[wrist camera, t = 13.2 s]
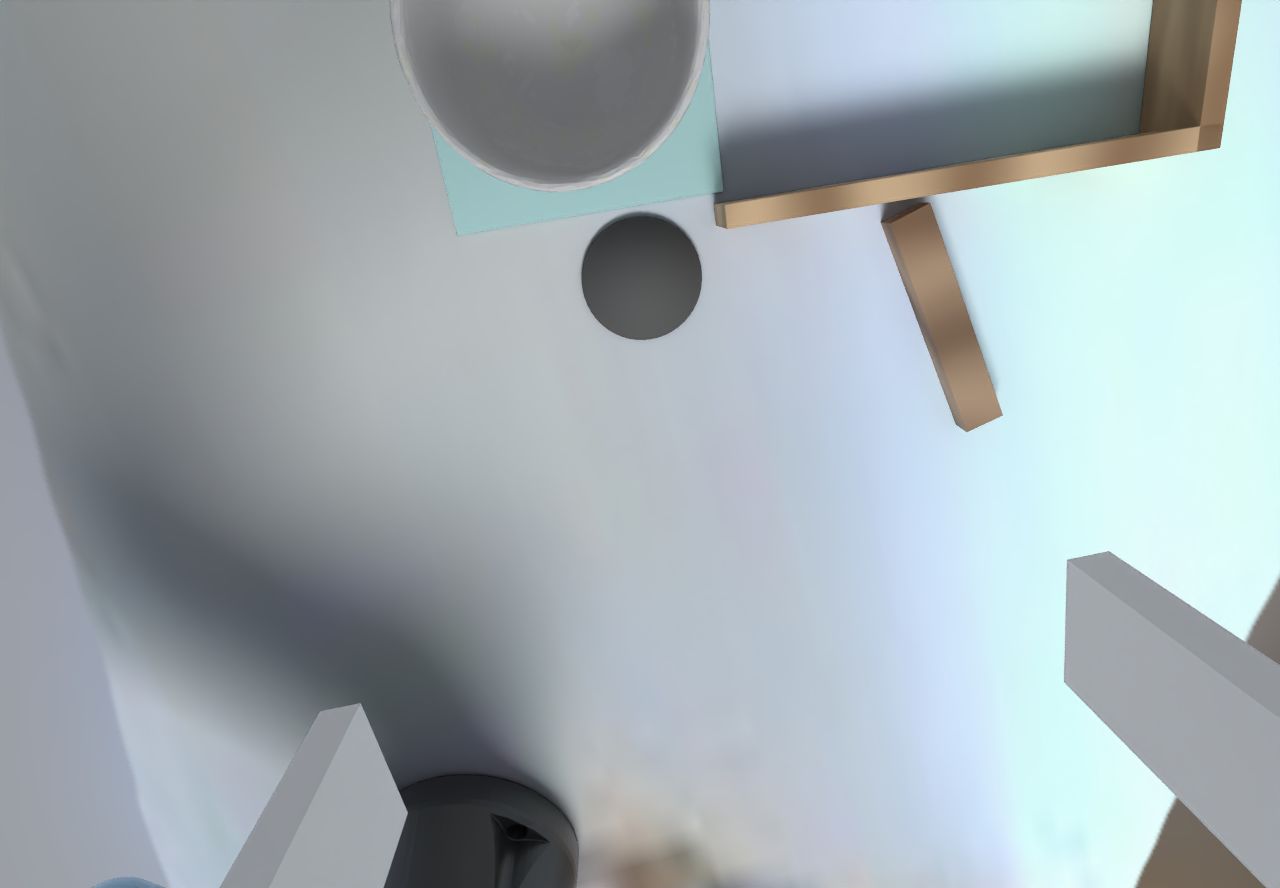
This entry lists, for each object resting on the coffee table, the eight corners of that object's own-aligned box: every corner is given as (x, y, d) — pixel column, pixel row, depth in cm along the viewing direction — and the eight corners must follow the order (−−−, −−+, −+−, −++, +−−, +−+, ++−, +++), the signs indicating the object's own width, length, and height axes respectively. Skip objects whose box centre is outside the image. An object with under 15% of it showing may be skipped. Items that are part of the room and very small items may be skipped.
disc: (593, 347, 34) (593, 348, 34) (571, 227, 32) (571, 227, 32) (707, 329, 34) (708, 329, 34) (693, 207, 32) (693, 207, 32)
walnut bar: (877, 222, 33) (890, 223, 31) (915, 202, 32) (930, 202, 31) (952, 422, 37) (967, 432, 35) (987, 406, 36) (1002, 415, 35)
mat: (458, 235, 32) (457, 235, 32) (357, -179, 26) (355, -182, 26) (722, 191, 32) (723, 191, 31) (678, -238, 26) (679, -241, 26)
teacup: (726, 121, 30) (761, 97, 23) (523, 233, 32) (494, 245, 24) (580, -229, 26) (565, -403, 18) (351, -80, 27) (250, -184, 20)
